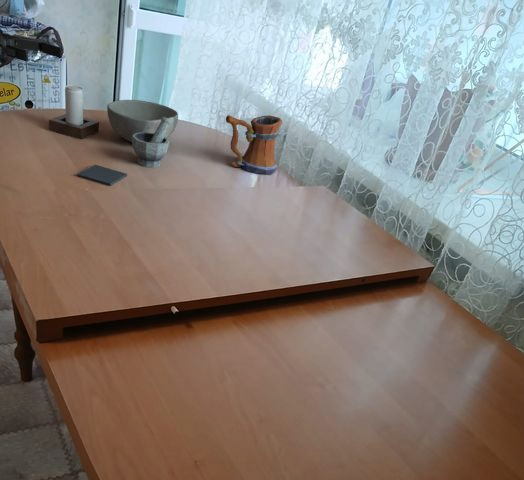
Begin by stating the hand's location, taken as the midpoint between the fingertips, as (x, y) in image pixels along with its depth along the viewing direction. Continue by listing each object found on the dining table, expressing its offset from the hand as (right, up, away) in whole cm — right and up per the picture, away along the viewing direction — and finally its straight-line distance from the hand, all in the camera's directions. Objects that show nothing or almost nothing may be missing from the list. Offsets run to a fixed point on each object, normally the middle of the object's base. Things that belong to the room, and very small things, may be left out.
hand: (44, 54), depth 152 cm
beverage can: (+5, -18, +9) cm, 21 cm away
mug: (+56, -28, +12) cm, 64 cm away
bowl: (+24, -20, +12) cm, 34 cm away
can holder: (+5, -18, +8) cm, 21 cm away
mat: (+21, -39, -15) cm, 46 cm away
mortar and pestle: (+30, -31, -1) cm, 43 cm away
